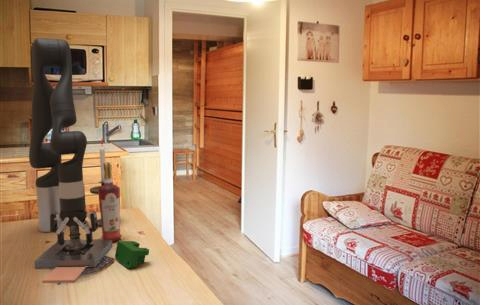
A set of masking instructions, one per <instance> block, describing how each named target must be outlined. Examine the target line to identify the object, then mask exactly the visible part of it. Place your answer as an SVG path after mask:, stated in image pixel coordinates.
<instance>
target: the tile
mask: <svg viewBox="0 0 480 305" xmlns="http://www.w3.org/2000/svg"><path fill="white" fill-rule="evenodd" d="M85 268H86V267H56V268H52V270H51V271H50V272H49V273H48V274H47V275H46V276H45V277H44V278H43V279H42V281H41V282H42V283H75V282H76V281H77V280H78V279H79V278H80V277H81V275H82V274H83V273H84V272H83V270H84V269H85ZM86 269H87V268H86ZM82 272H83V273H82ZM81 273H82V274H81Z"/></svg>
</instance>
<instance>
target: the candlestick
mask: <svg viewBox="0 0 480 305" xmlns="http://www.w3.org/2000/svg"><path fill="white" fill-rule="evenodd" d="M103 143H104V137H102V139H101V141H100V148H99V163H100V164H99V165H100V177H101V178H100V181H98V183H99V184H100V185H98V186H93V187H91V188H89V193H90V194H93V195H98V189H99V188H100V187H101V186H103V185H104V175H105V171H104V163H105V162H106V149H105V147H104V145H103ZM97 223H98V228H102V223H101V218H99V219H97Z"/></svg>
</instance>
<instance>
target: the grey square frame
mask: <svg viewBox="0 0 480 305" xmlns="http://www.w3.org/2000/svg"><path fill="white" fill-rule="evenodd" d="M80 241H81V243H83V244H85V247H84V251H83V252H84V253H85V252H86V253H85V254H84V255H70V254H67V253H68V252H67V249H66V246H67V245H69V244H70V239H64V244H63V245H60V244H58V240H57V241H56V242H55V243H53V244H52V245H51V246H50V247H48V248H47V249H46V250H45V251H44V252H43V253H42V254H40V256H38V257H37V258H36V259H34V260H33V261H34V269H35V270H40V269H43V270H44V269H45V270H46V269H49V270H50V269H55V267H77V266H96V264H97V263H98V262H99V261H100V259H101V258H102V257H103V256H104V257H106V255H107V254H108V253H109V251H110V250H111V249H112V247H113V242H112V239H102V238H101V239H93V241H92V242H91V244H90V245H87V243H86V239H80ZM83 252H82V253H83ZM104 257H103V258H104ZM100 262H101V261H100ZM100 262H99V263H100ZM96 267H97V266H96Z"/></svg>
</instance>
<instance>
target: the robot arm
mask: <svg viewBox="0 0 480 305" xmlns="http://www.w3.org/2000/svg"><path fill="white" fill-rule="evenodd" d="M71 52H72V51H71V46H70V43H69V42H68V41H67V40H65V39H63V38H50V37H49V38H48V37H47V38H46V37H36V38H35V39H34V40H33V44H32V73H33V74H32V75H33V80H32V83H33V84H32V86H33V87H32V98H31V100H32V101H31V134H30V141H29V142H30V143H29V150H28V151H29V152H28V159H29V165H30V166H31V167H32V169H37V170H38V169H50V170H49V171H48V172H46V173H45V174H43V175H41V176H39V177H37V178H36V179H35V192H36V203H37V214H38V215H37V216H38V227H39V228H38V229H39V230H38V231H40V232H43V233H55V234H56V237H57V241H58V244H60V245H63V244H64V240H65V232H64V230H65V228H66V227H67V228H69V227H70V226H76V227H78V226H79V228H80V229H81V230H83V231H84V232H85V233H86V234H85V238H86V239H85V240H86V243H87V245H90V244H91V242H92V241H93V240H94V239H93V233H95V232H96V231H97V230H98V229H99V227H98V223H97V220H98V216H97V212H96V211H95V210H94V211H93V212H87V210H86V207H87V206H86V191H85V182H84V172H83V165H84V157H85V153H86V149H87V145H88V140H87V136H86V135H85V133H84V132H83V131H81V130H72V131H62V130H63V129H66V128H70V127H72V126H74V125H75V124H77V113H76V107H75V102H74V94H73V68H72V67H73V66H72V53H71ZM45 68H56V69H57V68H60V69H61V71H60V72H61V74H60V78H59V79H58V82H57V84H56V85H55V87H53V85H52V84H51V83H50V81H49V80H48V78H47V75H46V73H45ZM50 132H51V134H50V141H49V142H48V143H43V141H44V139H45V138H46V136H47V135H48V134H49V133H50ZM65 155H73V157H72V158H71V159H69V160H67V161H63V162H62V156H65ZM87 219H89V220H90V224H89V222H88V221H87Z"/></svg>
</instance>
